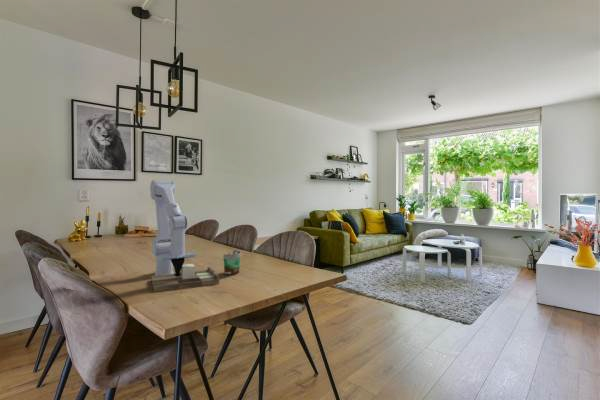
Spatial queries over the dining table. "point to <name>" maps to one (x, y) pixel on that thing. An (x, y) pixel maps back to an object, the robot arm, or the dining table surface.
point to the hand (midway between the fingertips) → (177, 276)
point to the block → (188, 271)
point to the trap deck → (184, 280)
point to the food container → (232, 263)
